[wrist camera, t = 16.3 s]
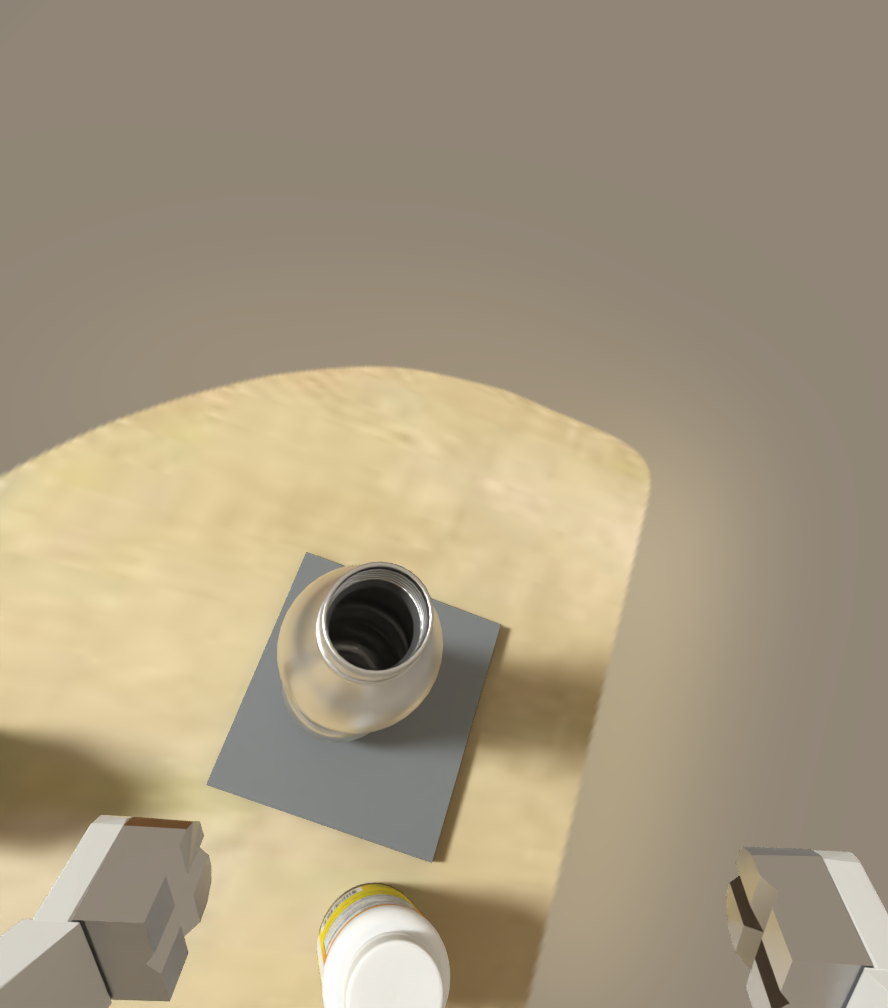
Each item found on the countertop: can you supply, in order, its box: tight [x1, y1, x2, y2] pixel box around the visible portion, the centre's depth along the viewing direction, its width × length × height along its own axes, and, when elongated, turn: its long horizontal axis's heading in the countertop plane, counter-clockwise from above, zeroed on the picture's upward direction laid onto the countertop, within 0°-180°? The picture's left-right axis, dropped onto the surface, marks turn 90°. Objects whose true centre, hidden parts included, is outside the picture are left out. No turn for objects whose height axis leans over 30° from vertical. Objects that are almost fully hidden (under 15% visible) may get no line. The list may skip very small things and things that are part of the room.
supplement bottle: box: [317, 883, 450, 1008], centre depth 32 cm, size 6×6×10 cm
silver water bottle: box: [277, 562, 443, 742], centre depth 31 cm, size 6×7×20 cm
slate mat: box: [206, 552, 501, 863], centre depth 40 cm, size 14×13×1 cm
